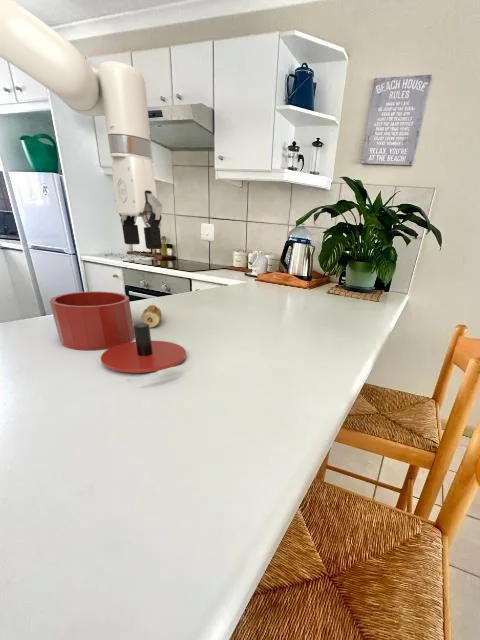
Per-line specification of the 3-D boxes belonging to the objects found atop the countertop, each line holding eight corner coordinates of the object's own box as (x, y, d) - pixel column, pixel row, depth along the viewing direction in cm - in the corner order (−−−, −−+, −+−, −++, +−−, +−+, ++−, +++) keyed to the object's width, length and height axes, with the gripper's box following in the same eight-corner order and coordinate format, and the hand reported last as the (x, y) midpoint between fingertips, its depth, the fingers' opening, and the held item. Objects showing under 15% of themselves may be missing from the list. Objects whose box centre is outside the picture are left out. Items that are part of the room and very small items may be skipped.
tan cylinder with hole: (145, 318, 83) (143, 303, 82) (163, 318, 85) (161, 303, 83) (141, 328, 76) (139, 312, 75) (160, 328, 77) (158, 312, 76)
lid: (88, 356, 60) (81, 321, 57) (161, 341, 70) (158, 310, 67) (124, 384, 52) (117, 344, 49) (201, 361, 62) (199, 328, 59)
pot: (51, 336, 68) (40, 295, 64) (117, 325, 77) (111, 289, 73) (75, 355, 60) (64, 310, 56) (146, 341, 69) (140, 301, 66)
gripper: (92, 150, 65) (108, 242, 73) (132, 143, 55) (145, 251, 63) (130, 157, 70) (140, 242, 78) (172, 152, 60) (180, 250, 68)
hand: (142, 246), depth 70 cm, fingers open, 9 cm apart
